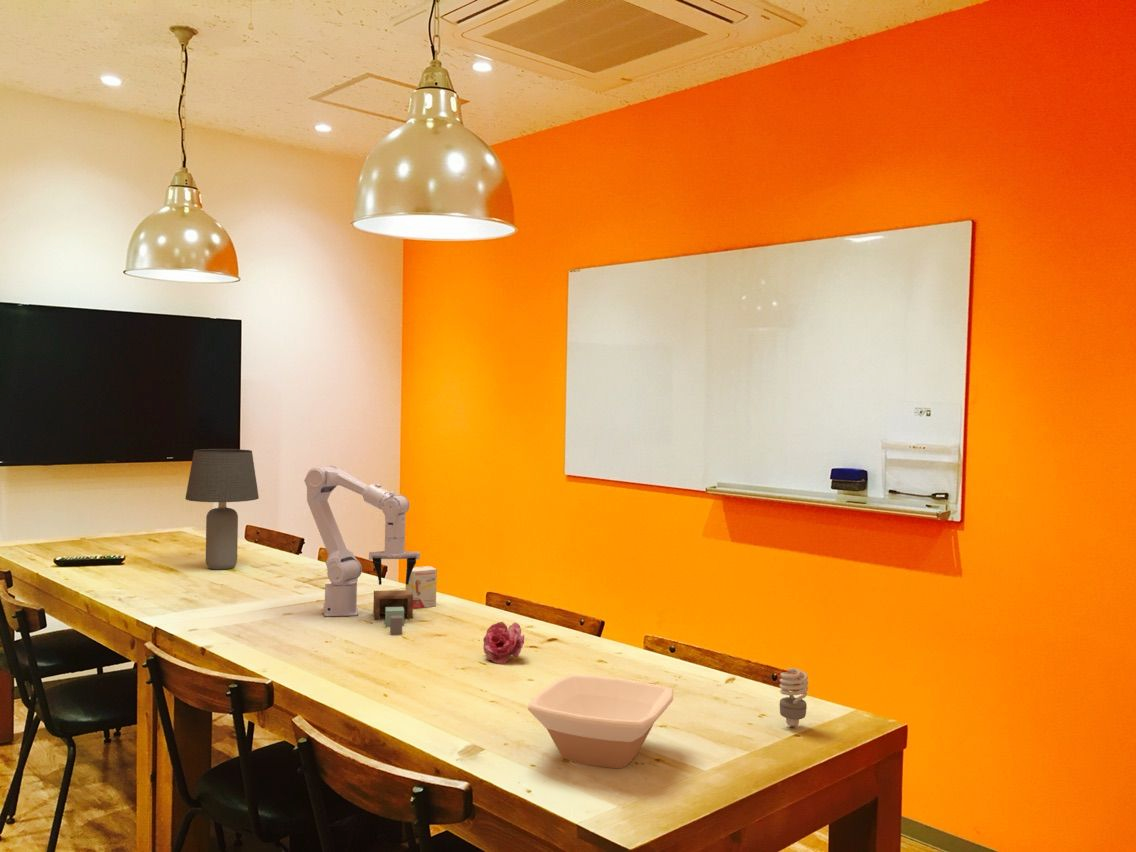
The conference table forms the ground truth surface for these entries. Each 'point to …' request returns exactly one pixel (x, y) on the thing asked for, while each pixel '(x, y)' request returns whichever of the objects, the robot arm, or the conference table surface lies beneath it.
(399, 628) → the block with rod
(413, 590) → the ink box
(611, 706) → the bowl
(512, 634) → the flower
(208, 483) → the lamp
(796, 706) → the light bulb
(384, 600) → the walnut cubby
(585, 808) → the conference table surface
